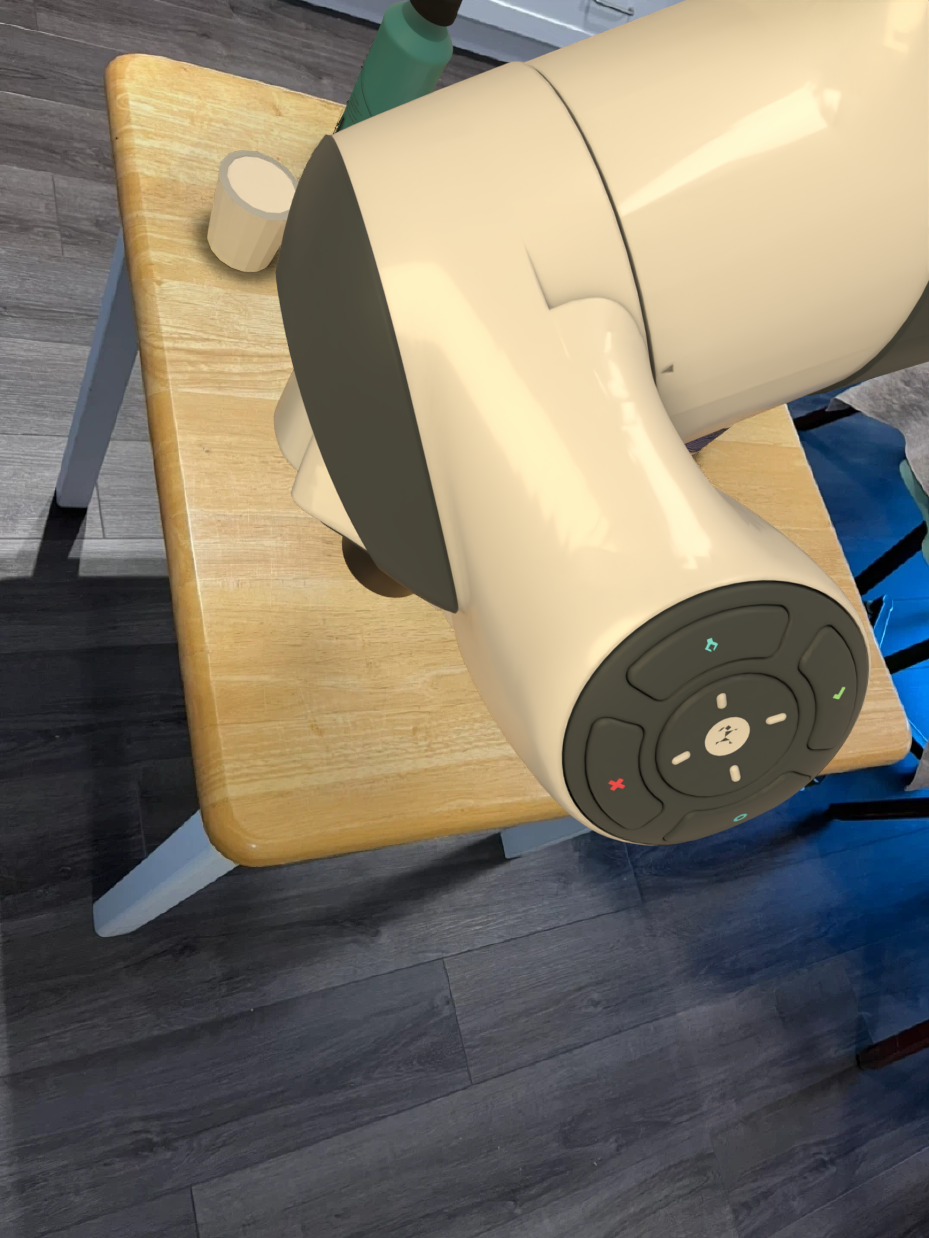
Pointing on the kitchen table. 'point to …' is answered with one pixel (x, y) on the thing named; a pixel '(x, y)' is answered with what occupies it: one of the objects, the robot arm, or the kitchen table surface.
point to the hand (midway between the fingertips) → (470, 460)
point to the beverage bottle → (402, 58)
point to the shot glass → (250, 209)
